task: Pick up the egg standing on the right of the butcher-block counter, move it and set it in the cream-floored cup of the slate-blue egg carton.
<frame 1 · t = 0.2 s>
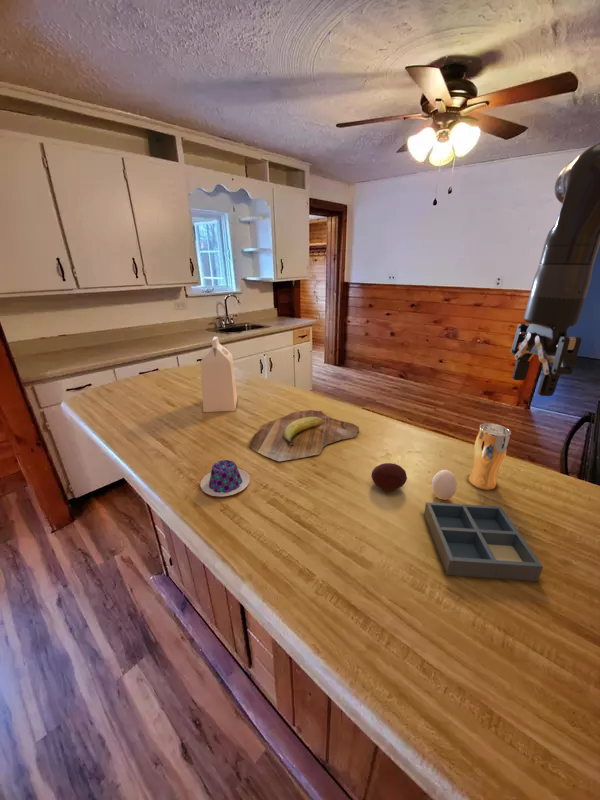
hand: (530, 386, 61), 30 cm above the countertop, tool pointing down, fingers open, 8 cm apart
milk: (221, 405, 130), on the countertop
cutting board: (302, 434, 108), on the countertop
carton: (474, 544, 66), on the countertop
pudding: (225, 484, 83), on the countertop
egg: (441, 498, 79), on the countertop
potato: (387, 487, 82), on the countertop
beer glass: (481, 483, 84), on the countertop
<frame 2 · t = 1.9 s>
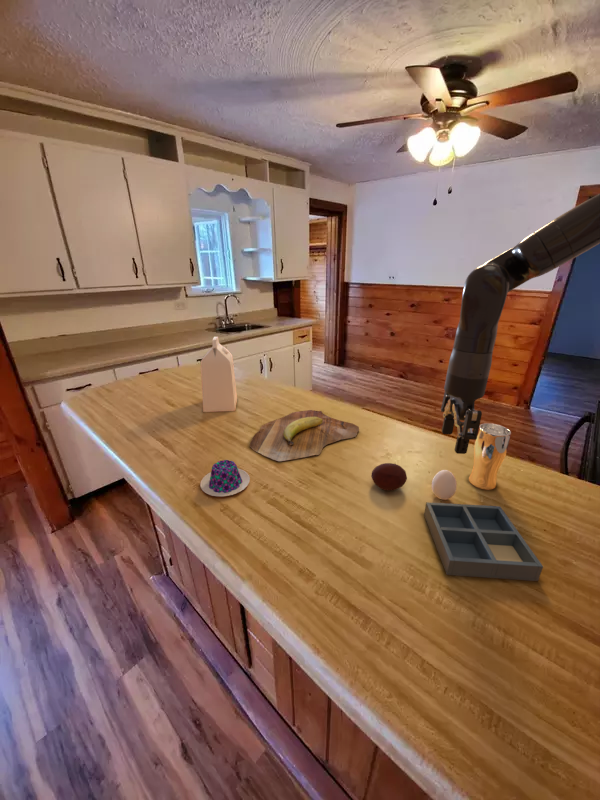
hand: (452, 442, 73), 15 cm above the countertop, tool pointing down, fingers open, 8 cm apart
nothing on the countertop moved.
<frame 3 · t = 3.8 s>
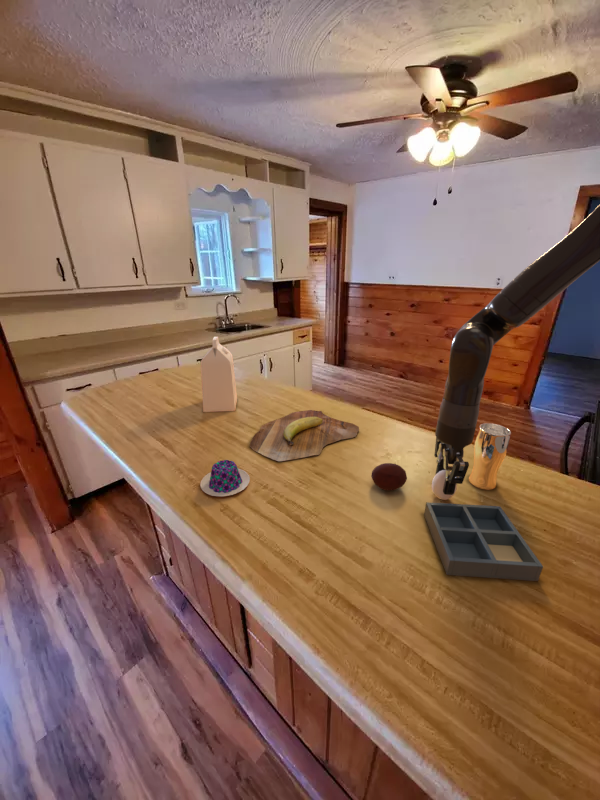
hand: (443, 485, 78), 3 cm above the countertop, tool pointing down, fingers closed on egg, 5 cm apart
egg: (441, 498, 79), on the countertop, touching gripper
everything else where it was.
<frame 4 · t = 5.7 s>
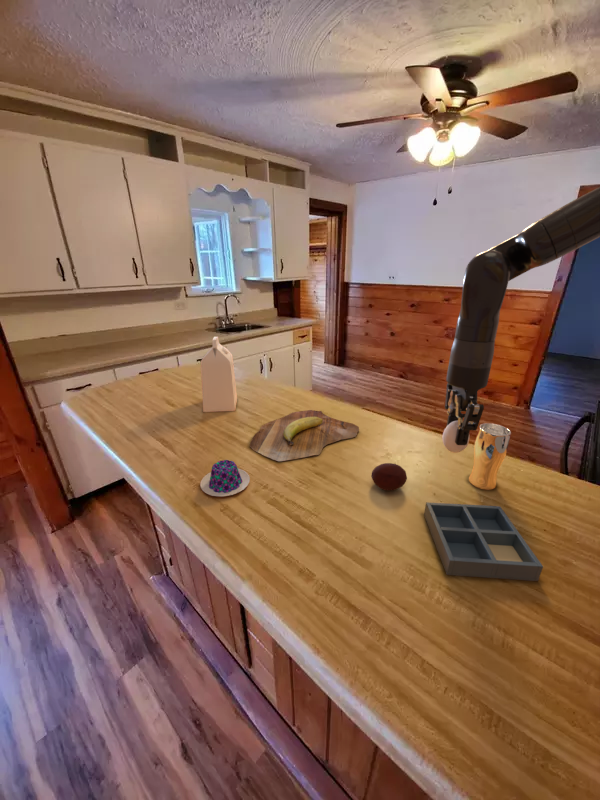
hand: (455, 437, 72), 16 cm above the countertop, tool pointing down, fingers closed on egg, 5 cm apart
egg: (453, 452, 74), point 13 cm above the countertop, touching gripper
everything else where it was.
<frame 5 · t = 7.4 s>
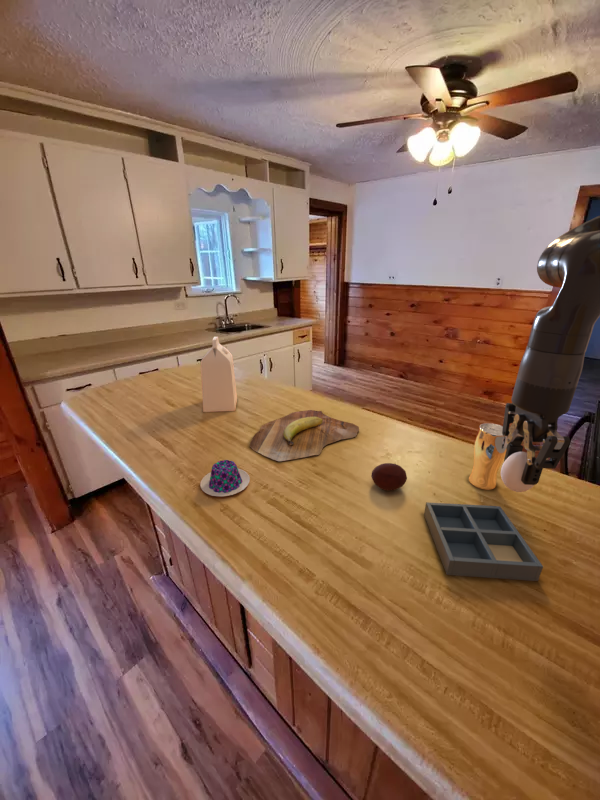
hand: (519, 472, 57), 18 cm above the countertop, tool pointing down, fingers closed on egg, 5 cm apart
egg: (514, 490, 58), point 14 cm above the countertop, touching gripper
everything else where it was.
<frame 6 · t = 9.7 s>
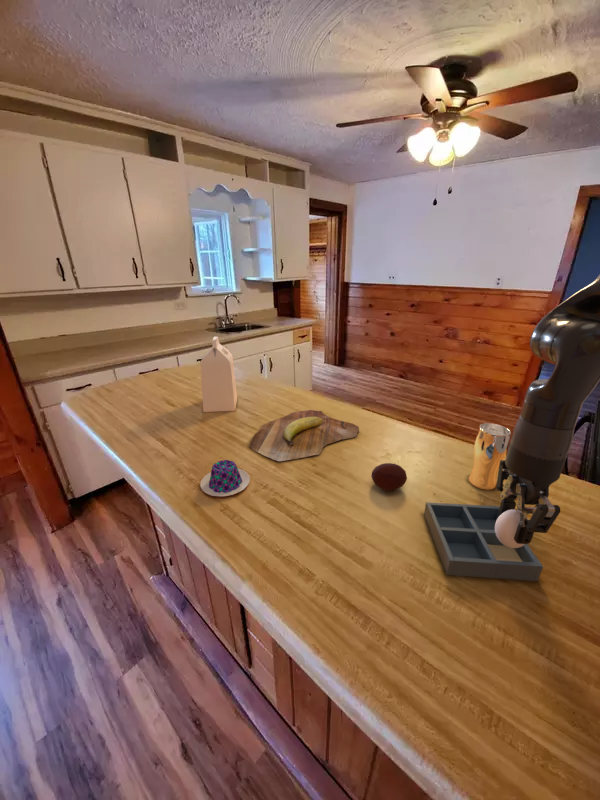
hand: (512, 529, 59), 7 cm above the countertop, tool pointing down, fingers closed on egg, 5 cm apart
egg: (507, 545, 61), point 4 cm above the countertop, touching gripper
everything else where it was.
when the fingers open (4 cm above the countertop, at t = 11.2 s): egg stays where it is, resting on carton.
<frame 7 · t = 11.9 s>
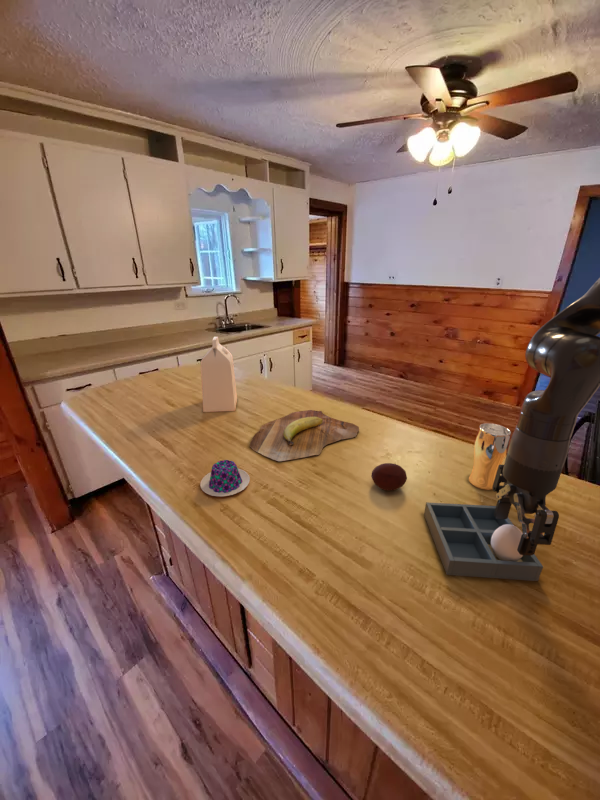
hand: (511, 534, 60), 6 cm above the countertop, tool pointing down, fingers open, 8 cm apart
egg: (503, 559, 62), resting on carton
everything else where it was.
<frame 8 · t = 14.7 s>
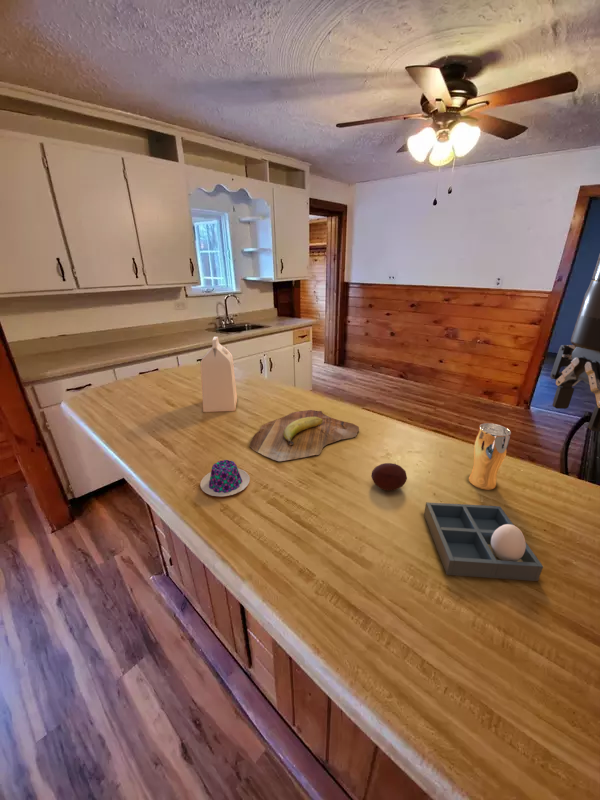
hand: (576, 418, 54), 28 cm above the countertop, tool pointing down, fingers open, 8 cm apart
nothing on the countertop moved.
at the end: egg 0.1 cm from the target spot in the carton, point 0.4 cm above the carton's base; egg moved 18.6 cm from its start; the gripper is holding nothing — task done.
